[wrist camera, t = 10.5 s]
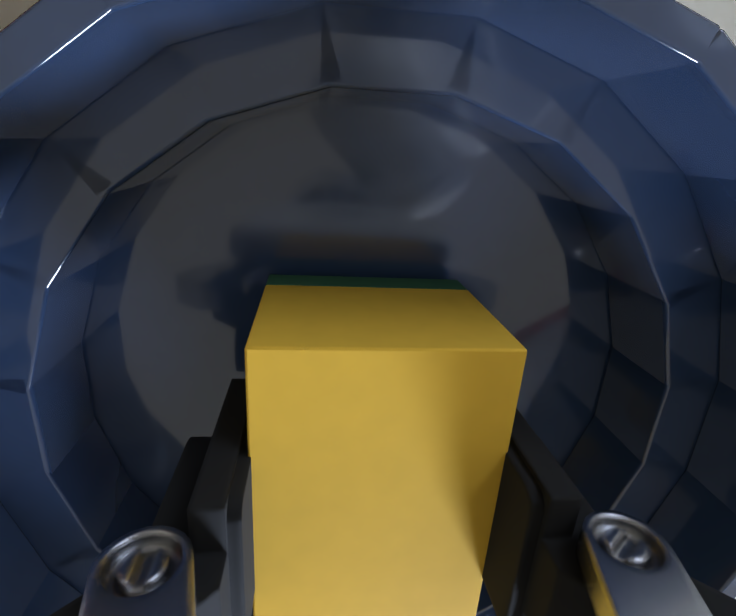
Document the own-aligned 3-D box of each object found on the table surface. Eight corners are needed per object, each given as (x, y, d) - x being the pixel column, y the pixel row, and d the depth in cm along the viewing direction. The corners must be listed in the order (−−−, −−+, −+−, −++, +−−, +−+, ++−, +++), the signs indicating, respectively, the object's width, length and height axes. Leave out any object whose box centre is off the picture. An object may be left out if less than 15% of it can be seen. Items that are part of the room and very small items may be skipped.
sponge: (268, 273, 11) (244, 347, 7) (458, 279, 11) (529, 349, 7) (271, 513, 13) (254, 663, 9) (428, 508, 14) (470, 648, 10)
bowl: (-55, -24, 9) (-460, -198, 4) (737, 49, 11) (1051, -14, 6) (81, 606, 15) (-28, 822, 10) (582, 580, 17) (684, 751, 12)
